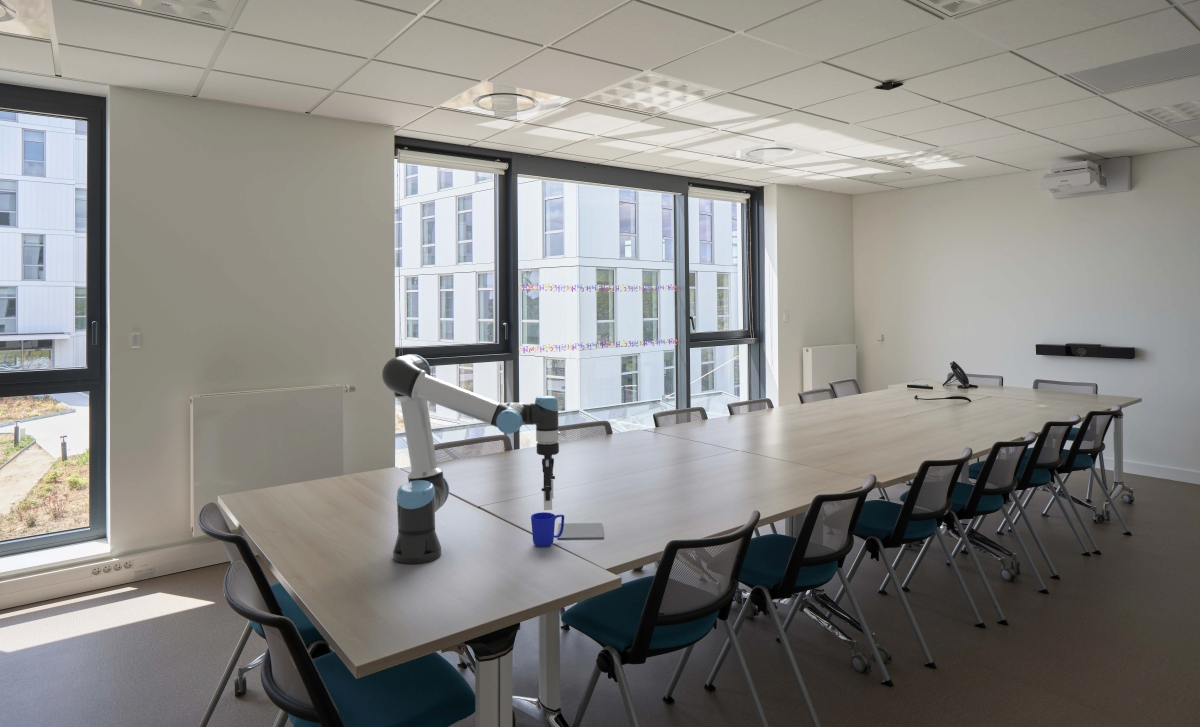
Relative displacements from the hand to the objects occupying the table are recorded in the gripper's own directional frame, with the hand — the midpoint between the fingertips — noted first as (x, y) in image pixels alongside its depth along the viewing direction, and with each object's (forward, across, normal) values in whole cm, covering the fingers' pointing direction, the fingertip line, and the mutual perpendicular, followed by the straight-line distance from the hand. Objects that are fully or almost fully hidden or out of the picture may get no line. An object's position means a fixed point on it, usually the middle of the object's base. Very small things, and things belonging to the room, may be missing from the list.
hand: (548, 504), depth 237 cm
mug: (+14, 0, 0) cm, 14 cm away
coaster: (+14, +12, -11) cm, 21 cm away
